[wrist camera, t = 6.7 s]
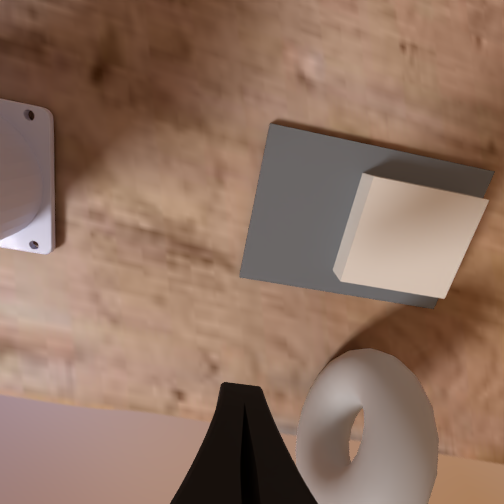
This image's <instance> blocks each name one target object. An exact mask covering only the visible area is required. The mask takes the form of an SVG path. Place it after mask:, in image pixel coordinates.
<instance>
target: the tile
mask: <svg viewBox="0 0 504 504" xmlns="http://www.w3.org/2000/svg"><path fill="white" fill-rule="evenodd" d="M488 202H489V200H487V199H483V198H480V197H476V196H472V195H468V194H463V193H458V192H453V191H449V190H444V189H439V188H434V187H429V186H424V185H419V184H414V183H410V182H405V181H400V180H395V179H390V178H385V177H380V176H375V175H371V174H366V173H362V176H361V180H360V183H359V186H358V189H357V193H356V196H355V199H354V202H353V206H352V209H351V212H350V215H349V219H348V222H347V225H346V228H345V232H344V235H343V238H342V241H341V245H340V248H339V251H338V254H337V258H336V261H335V264H334V267H333V271H334V273H335V274H336V276H337V277H338V279H339V280H340V281H341V282H347V283H353V284H359V285H365V286H371V287H377V288H383V289H389V290H395V291H401V292H407V293H413V294H419V295H425V296H431V297H436V298H442V299H445V297H446V295H447V292H448V290H449V288H450V286H451V284H452V281H453V279H454V277H455V275H456V273H457V270H458V268H459V266H460V264H461V262H462V259H463V257H464V255H465V253H466V250H467V248H468V246H469V244H470V242H471V239H472V237H473V235H474V233H475V231H476V228H477V226H478V224H479V222H480V220H481V217H482V215H483V213H484V211H485V208H486V206H487V204H488Z"/></svg>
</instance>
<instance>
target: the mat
mask: <svg viewBox="0 0 504 504" xmlns="http://www.w3.org/2000/svg"><path fill="white" fill-rule="evenodd" d="M362 173H366V174H371V175H375V176H380V177H385V178H390V179H395V180H400V181H405V182H410V183H414V184H419V185H424V186H429V187H434V188H439V189H444V190H449V191H453V192H458V193H463V194H468V195H472V196H476V197H480V198H483V197H484V195H485V193H486V190H487V188H488V186H489V184H490V181H491V179H492V177H493V175H494V171H490V170H485V169H480V168H476V167H471V166H466V165H462V164H457V163H452V162H448V161H443V160H439V159H434V158H429V157H425V156H420V155H415V154H411V153H406V152H401V151H397V150H392V149H387V148H383V147H378V146H373V145H369V144H364V143H360V142H355V141H350V140H346V139H341V138H336V137H332V136H327V135H322V134H318V133H313V132H308V131H304V130H299V129H295V128H290V127H285V126H281V125H276V124H271V123H270V126H269V131H268V136H267V141H266V146H265V151H264V156H263V161H262V165H261V170H260V175H259V180H258V185H257V190H256V195H255V200H254V205H253V210H252V215H251V220H250V225H249V230H248V235H247V240H246V245H245V250H244V255H243V260H242V265H241V270H240V277H241V278H247V279H253V280H259V281H265V282H271V283H277V284H284V285H290V286H296V287H302V288H308V289H314V290H320V291H326V292H332V293H339V294H345V295H351V296H357V297H363V298H369V299H375V300H381V301H388V302H394V303H400V304H406V305H412V306H418V307H424V308H430V309H434V307H435V305H436V303H437V300H438V298H436V297H431V296H425V295H419V294H413V293H407V292H401V291H395V290H389V289H383V288H377V287H371V286H365V285H359V284H353V283H347V282H341V281H340V280H339V279H338V277H337V276H336V274H335V273H334V271H333V267H334V264H335V261H336V258H337V254H338V251H339V248H340V245H341V241H342V238H343V235H344V232H345V228H346V225H347V222H348V219H349V215H350V212H351V209H352V206H353V202H354V199H355V196H356V193H357V189H358V186H359V183H360V180H361V176H362Z"/></svg>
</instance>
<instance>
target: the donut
mask: <svg viewBox="0 0 504 504" xmlns="http://www.w3.org/2000/svg"><path fill="white" fill-rule="evenodd" d="M362 408H363V410H364V430H363V436H362V441H361V444H360V447H359V450H358V452H357V455H356V456H355V458H354V459H353V461H352V462H351V461H350V456H349V439H350V433H351V428H352V425H353V423H354V420H355V418H356V416H357V415H358V413H359V412H360V410H361V409H362ZM438 442H439V438H438V433H437V428H436V423H435V418H434V413H433V408H432V405H431V403H430V401H429V399H428V397H427V395H426V393H425V391H424V389H423V387H422V385H421V383H420V381H419V380H418V378H417V377H416V375H415V374H414V373H413V372H412V371H410V370H409V369H408V368H407V367H406V366H405V365H404V364H403V363H402V362H401V361H400V360H399V359H397V358H396V357H395V356H393V355H390V354H387V353H384V352H382V351H379V350H376V349H372V348H366V349H358V350H350V351H347V352H345V353H344V354H342V355H340V356H339V357H337V358H335V359H334V360H332V361H331V362H330V363H329V364H328V365H327V366H326V367H325V368H324V369H323V370H322V371H321V372H320V373H319V375H318V377H317V378H316V380H315V382H314V383H313V385H312V386H311V388H310V390H309V393H308V395H307V398H306V400H305V403H304V405H303V408H302V412H301V416H300V421H299V425H298V430H297V441H296V465H297V469H298V471H299V472H300V474H301V476H302V478H303V480H304V481H305V483H306V485H307V486H308V488H309V490H310V492H311V493H312V495H313V496H314V498H315V500H316V501H317V503H318V504H428V501H429V498H430V495H431V492H432V489H433V486H434V482H435V479H436V476H437V462H438Z"/></svg>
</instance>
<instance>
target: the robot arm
mask: <svg viewBox="0 0 504 504" xmlns="http://www.w3.org/2000/svg"><path fill="white" fill-rule="evenodd" d="M30 110H31V111H32V112H33V113H34V116H35V117H34V119H33V120H31V119H30V118H29V115H28V114H29V111H30ZM33 241H36V242H37V243H38V245H39V247H36V246H35V245H34V243H33ZM0 247H1V248H8V249H14V250H20V251H26V252H33V253H39V254H49V253H51V252H52V251H53V250H54V249H55V183H54V119H53V115H52V113H51V112H50V111H49V110H48V109H47V108H44V107H40V106H35V105H30V104H25V103H21V102H16V101H11V100H6V99H1V98H0ZM170 504H318V503H317V501H316V500H315V498H314V496H313V495H312V493H311V492H310V490H309V488H308V486H307V485H306V483H305V481H304V480H303V478H302V476H301V474H300V472H299V471H298V469H297V467H296V465H295V463H294V461H293V460H292V458H291V456H290V454H289V452H288V450H287V448H286V446H285V444H284V442H283V439H282V437H281V435H280V433H279V431H278V429H277V426H276V424H275V422H274V419H273V417H272V415H271V412H270V410H269V407H268V405H267V402H266V399H265V397H264V394H263V391H262V389H261V387H259V386H252V385H244V384H236V383H228V382H224V383H222V384H221V387H220V392H219V396H218V401H217V406H216V410H215V413H214V416H213V419H212V421H211V424H210V426H209V429H208V431H207V434H206V436H205V438H204V441H203V443H202V445H201V447H200V449H199V451H198V453H197V455H196V457H195V459H194V461H193V464H192V465H191V467H190V469H189V471H188V473H187V475H186V477H185V479H184V480H183V482H182V484H181V486H180V488H179V489H178V491H177V493H176V494H175V496H174V498H173V499H172V501H171V503H170Z"/></svg>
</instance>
